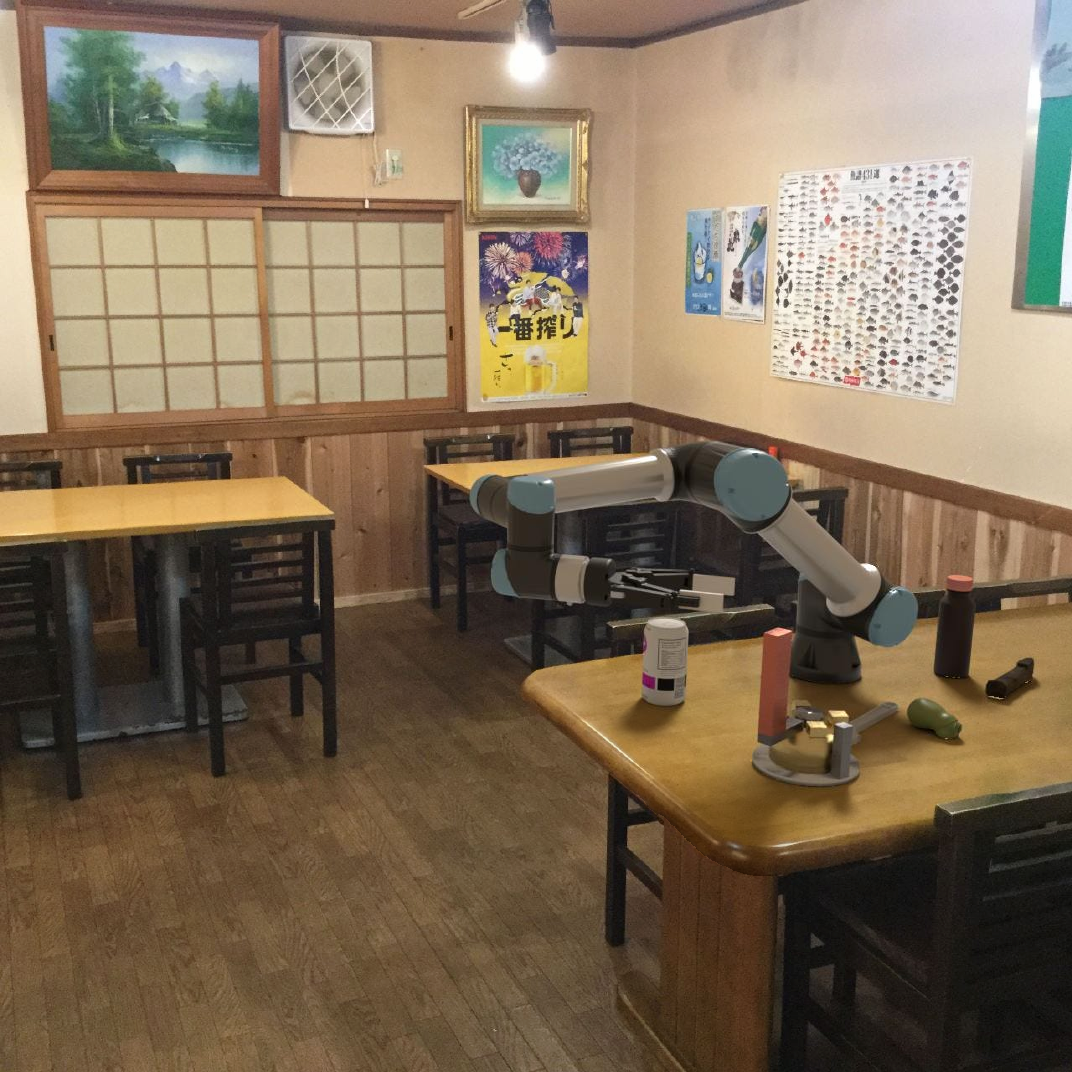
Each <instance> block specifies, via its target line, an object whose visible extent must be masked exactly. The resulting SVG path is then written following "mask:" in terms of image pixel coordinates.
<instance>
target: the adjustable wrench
mask: <svg viewBox="0 0 1072 1072" xmlns="http://www.w3.org/2000/svg"><path fill="white" fill-rule="evenodd" d="M897 710H898V711H899V704H898V703H897V702H894V701H885V702H883V703H881V704H879V705H877V706H875V707H874V708H872V709H871V710H869V711H867V712H865V713H864V714H862V715H860V716H859V717H856V718H855V719H853V720H851V721H848V724H850V725H852V726H853V732H852V745H851V747H852V746H854V745H856V744H857V743H861V741H862V735H861V734H859V733H860V732H862V731H864V730H866V729H868V728H869V727H871V726H873V725H874V724H877V723H878V722H880V721H882V720H884V719H885V718H884V717H886V716H888V715H889V716H891V715H892V714H891V713H893V712H895V713H896V711H897ZM898 711H897V712H898ZM890 714H891V715H890ZM893 714H894V713H893ZM889 716H888V717H889ZM883 718H884V719H883ZM886 718H887V717H886ZM876 722H877V723H876Z"/></svg>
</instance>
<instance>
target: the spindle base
mask: <svg viewBox="0 0 1072 1072" xmlns="http://www.w3.org/2000/svg"><path fill="white" fill-rule="evenodd" d="M823 712H824V711H822V709H820V708H816V707H812V706H811V707H799V708H797V709H795V718H796V719H799V720H803V721H804V725H806V721H823ZM852 732H853V726H852V725H850V724H847V723H845V722H841V723H837V724H834V734H833V747H832V760H831V771H829V772H821V773H810V772H801V771H795V770H791V769H788V768H785V767H782V766H780V765H778V764H776V763H774V762H773V761H772V760H771V759H770V758H769V756H768V751H769V746H767V745H764V744H760V745H757V747H756V748H754V750H753V752H752V761H751V762H752V764H754V765H753V767H754V768H755V769H756V768H757V769H758V770H759V772H760V771H761V772H762V773H761V772H760V773H761V774H763V775H764V774H766V775H768V776H769V777H768V776H767V777H768V778H770V777H772V778H771V779H773V778H774V779H773V780H775V779H778V780H780V781H779V782H781V781H782V783H785V782H786V783H785V784H789V785H794V784H798V785H797V786H799V785H806V786H805V787H808V786H817V787H816V788H822V787H821V786H831V787H836V786H835V785H838V786H841V785H840V784H843V785H845V784H848V783H850V781H851V782H852V780H853V779H854V780H855V779H857V778H858V776H859V775H860V766H861V765H860V761H859V760H858V759H857V757H856V756H855V755H854V754H853V753H852V746H853V745H852ZM851 745H852V746H851ZM757 769H756V770H757ZM758 770H757V771H758ZM858 774H859V775H858ZM766 775H765V776H766ZM778 780H777V781H778ZM854 780H853V781H854ZM819 786H820V787H819Z"/></svg>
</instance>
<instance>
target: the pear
mask: <svg viewBox="0 0 1072 1072" xmlns="http://www.w3.org/2000/svg"><path fill="white" fill-rule="evenodd" d="M906 717H907V719H908V721H909V722H910V724H911V725H912V726H914V727H915V728H920V729H932V730H933V731H934V732H935V734H936V735H937V736H938V737H939V738H941V737H942V738H941V739H944V738H948V739H947V740H951V739H954V738H957V737H959V734H960V733H962V730H963V725H962V724H961V723H960V722H959V720H958V718H957V717H956V716H954V714H951V713H950V712H948V711H947V710H946V709H945V708H944V707H943V706H942V705H941V704H939V703H937V702H936V701H934V700H932V699H930V698H926V697H919V698H915V699H914V700H913V701H911V702H910V703H909V705H908V706H907V709H906ZM953 737H954V738H953ZM950 738H951V739H950Z"/></svg>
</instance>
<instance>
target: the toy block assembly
mask: <svg viewBox="0 0 1072 1072" xmlns="http://www.w3.org/2000/svg"><path fill="white" fill-rule="evenodd" d="M792 640H793V630H790V629H785V628H781V627H776V628H773V629H770V630H767V631H764V632H763V641H762V654H761V655H762V656H761V669H760V670H761V672H760V673H761V674H760V688H759V689H760V690H759V704H758V707H759V708H758V721H757V739H756V741H757V743H758V744H760V745H762V744H764V745H767V746H769V751H768V756H769V758H770V759H771V760H772V761H773V762H774V763H776V764H778V765H780V766H782V767H785V768H788V769H791V770H795V771H801V772H810V773H821V772H829V771H831V760H832V747H833V734H834V724H837V723H841V722H845V723H847V724H848V723H849V719H850V717H849V715H848V714H847V712H846V711H845V710H828V712H824V711H822V712H823V721H806V725H804V721H803V720H799V719H796V718H795V709H797V708H799V707H812V704H811V703H810V702H809V700H808V699H807V700H806V699H803V700H802V699H800V700H799V699H792V700H791V709H788V700H789V686H790V674H789V673H790V658H791V643H792Z"/></svg>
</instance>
